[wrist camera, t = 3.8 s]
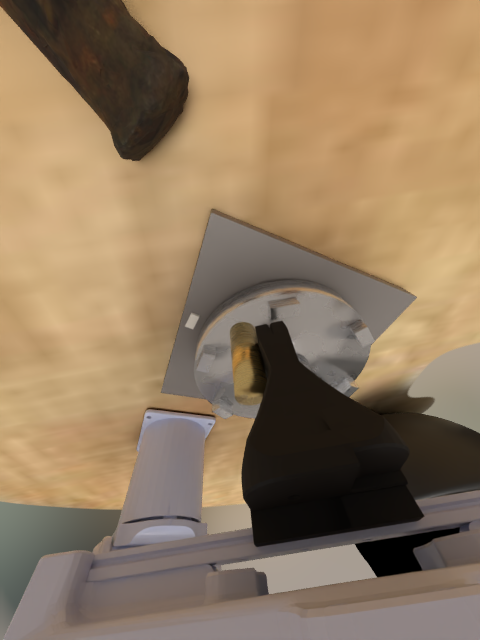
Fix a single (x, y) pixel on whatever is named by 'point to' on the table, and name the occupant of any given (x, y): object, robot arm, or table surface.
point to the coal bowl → (426, 482)
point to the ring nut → (306, 334)
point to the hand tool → (109, 66)
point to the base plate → (260, 267)
